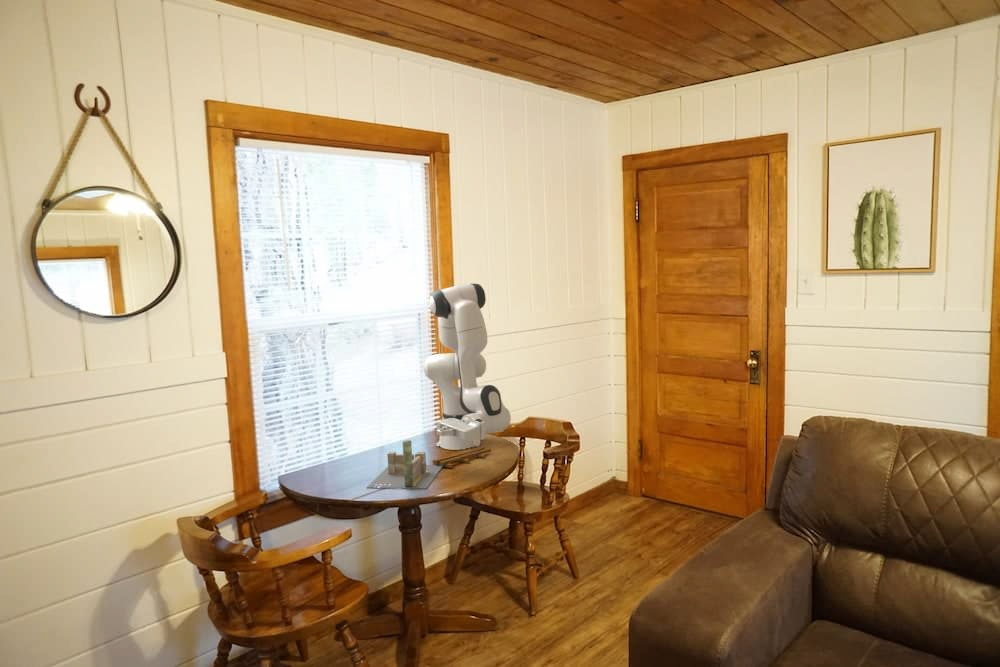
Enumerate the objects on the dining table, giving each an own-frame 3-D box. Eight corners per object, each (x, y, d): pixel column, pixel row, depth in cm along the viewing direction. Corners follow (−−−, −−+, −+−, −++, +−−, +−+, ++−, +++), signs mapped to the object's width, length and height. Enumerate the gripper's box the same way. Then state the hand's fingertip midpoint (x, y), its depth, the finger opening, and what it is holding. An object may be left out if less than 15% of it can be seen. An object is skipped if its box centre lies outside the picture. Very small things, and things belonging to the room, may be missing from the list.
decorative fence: (429, 463, 252) (446, 468, 245) (429, 458, 252) (446, 463, 245) (478, 450, 270) (495, 455, 263) (478, 445, 270) (495, 450, 263)
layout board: (389, 465, 254) (389, 464, 254) (443, 466, 251) (443, 464, 251) (366, 488, 228) (366, 487, 228) (426, 489, 225) (426, 487, 225)
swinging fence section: (426, 471, 243) (424, 430, 241) (411, 486, 226) (409, 442, 225) (418, 470, 243) (416, 429, 242) (403, 486, 227) (401, 442, 225)
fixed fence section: (390, 471, 245) (389, 451, 244) (415, 472, 243) (414, 452, 242) (388, 473, 242) (387, 453, 241) (413, 474, 241) (412, 453, 240)
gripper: (455, 412, 250) (423, 418, 242) (487, 422, 234) (453, 430, 226) (456, 428, 251) (424, 435, 243) (487, 440, 235) (454, 448, 226)
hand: (438, 433), depth 234 cm, fingers closed
